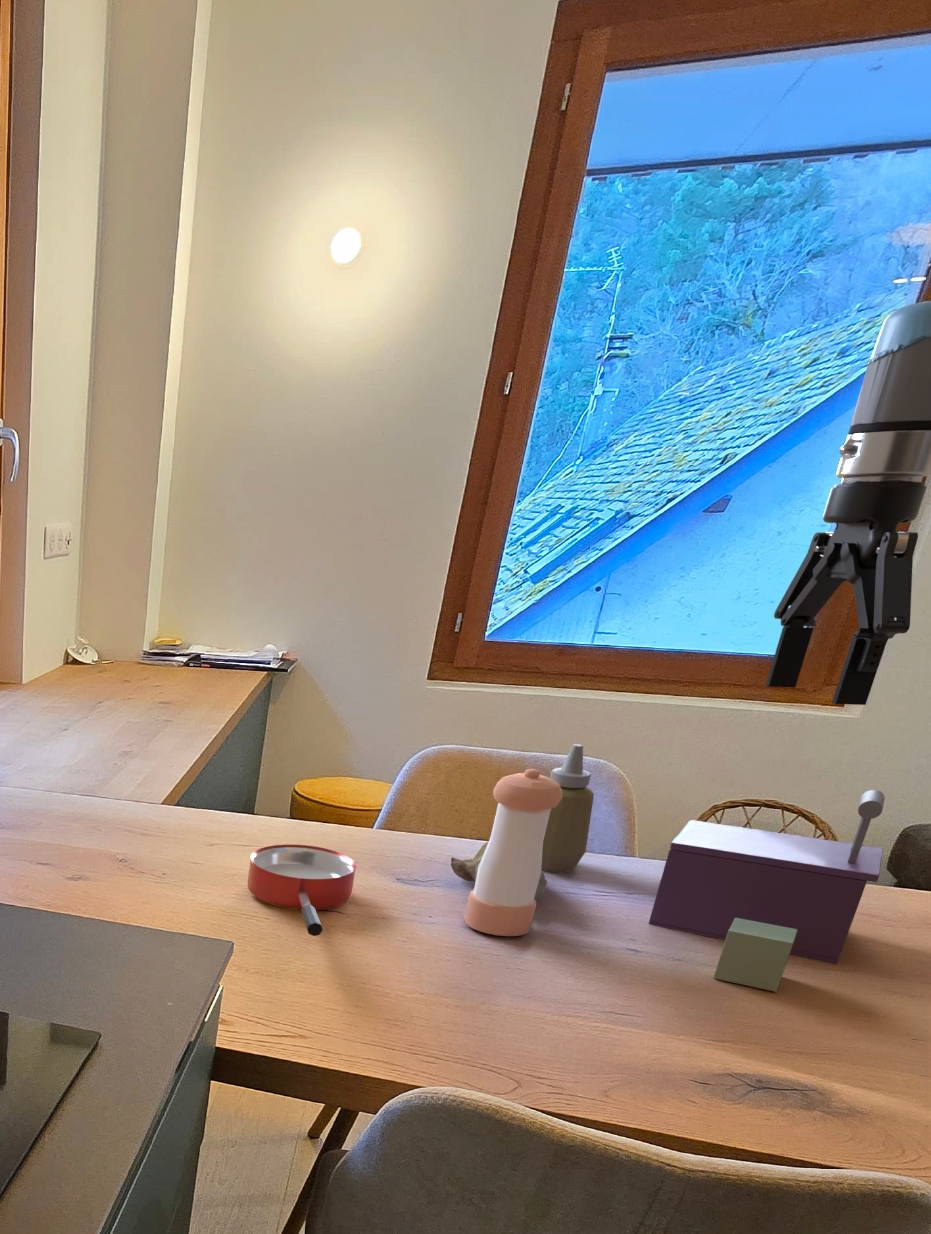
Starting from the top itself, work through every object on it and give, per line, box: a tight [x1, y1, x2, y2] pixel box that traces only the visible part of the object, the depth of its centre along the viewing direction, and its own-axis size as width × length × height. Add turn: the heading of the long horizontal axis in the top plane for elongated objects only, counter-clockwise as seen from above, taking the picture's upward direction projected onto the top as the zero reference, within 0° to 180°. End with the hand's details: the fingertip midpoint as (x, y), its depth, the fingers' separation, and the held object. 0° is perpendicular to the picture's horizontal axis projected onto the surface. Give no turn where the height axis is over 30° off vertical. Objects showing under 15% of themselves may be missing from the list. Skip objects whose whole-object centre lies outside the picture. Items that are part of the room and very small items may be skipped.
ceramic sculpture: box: [450, 841, 548, 902], centre depth 135 cm, size 11×9×15 cm
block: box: [713, 918, 797, 993], centre depth 112 cm, size 6×6×6 cm
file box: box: [647, 848, 868, 966], centre depth 124 cm, size 18×14×10 cm
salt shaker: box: [463, 768, 562, 937], centre depth 123 cm, size 7×7×19 cm
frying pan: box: [247, 844, 357, 937], centre depth 128 cm, size 32×13×6 cm, turn 171°
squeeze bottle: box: [541, 743, 595, 874], centre depth 143 cm, size 8×8×18 cm
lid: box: [669, 789, 886, 883], centre depth 120 cm, size 19×14×8 cm
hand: (812, 695), depth 114 cm, fingers open, 13 cm apart
